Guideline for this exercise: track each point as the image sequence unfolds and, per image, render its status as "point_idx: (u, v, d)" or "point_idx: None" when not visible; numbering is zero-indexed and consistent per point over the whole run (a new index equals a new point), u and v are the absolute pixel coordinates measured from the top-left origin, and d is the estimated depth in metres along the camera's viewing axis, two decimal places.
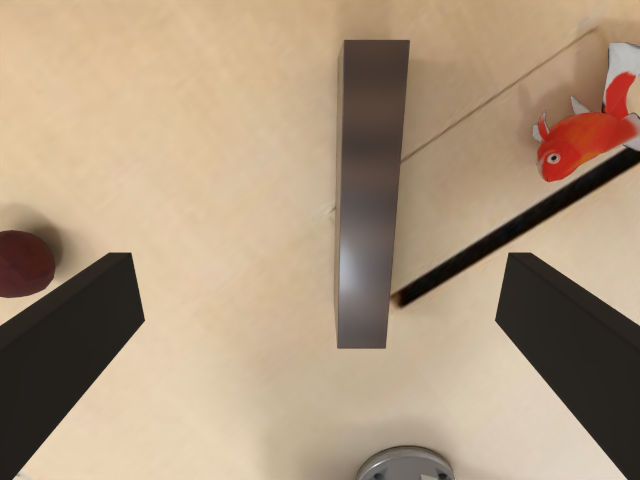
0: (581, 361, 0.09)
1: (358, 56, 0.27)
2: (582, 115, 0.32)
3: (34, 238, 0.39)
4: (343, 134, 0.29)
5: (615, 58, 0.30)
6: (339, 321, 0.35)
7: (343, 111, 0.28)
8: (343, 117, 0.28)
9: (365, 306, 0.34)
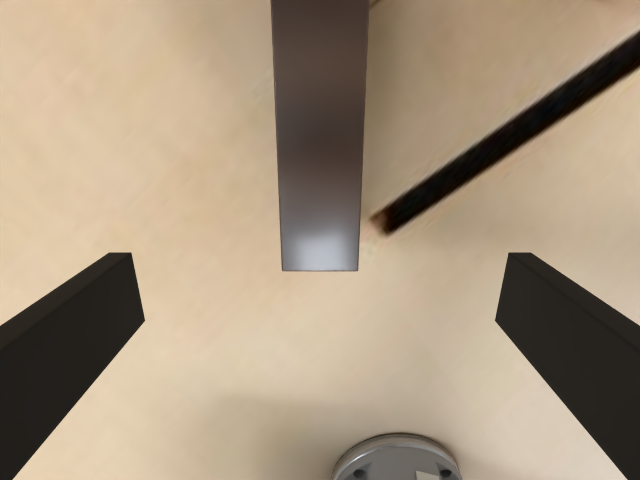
0: (581, 361, 0.09)
1: None
2: None
3: None
4: None
5: None
6: (282, 223, 0.22)
7: None
8: None
9: (323, 197, 0.21)
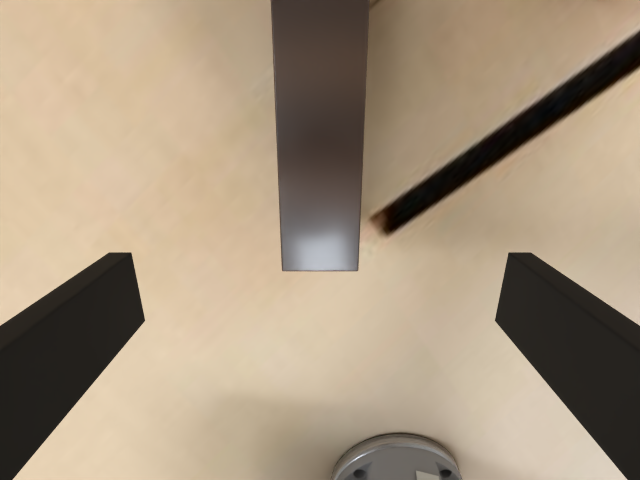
0: (581, 361, 0.09)
1: None
2: None
3: None
4: None
5: None
6: (282, 223, 0.22)
7: None
8: None
9: (323, 197, 0.21)
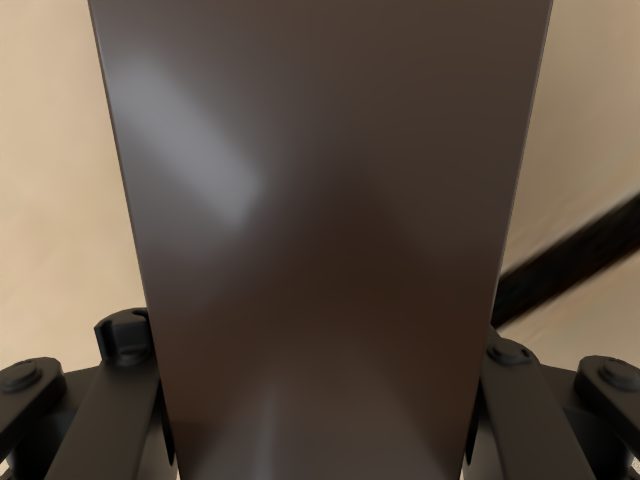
0: None
1: None
2: None
3: None
4: None
5: None
6: None
7: None
8: None
9: (332, 431, 0.06)
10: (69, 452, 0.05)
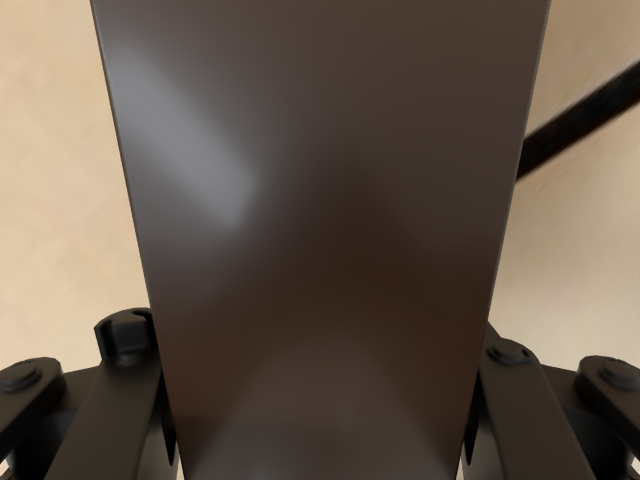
0: None
1: None
2: None
3: None
4: None
5: None
6: None
7: None
8: None
9: (332, 426, 0.06)
10: (69, 452, 0.05)
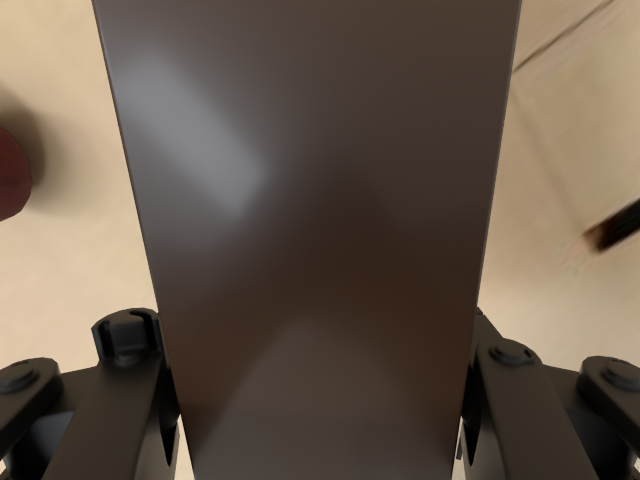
0: None
1: None
2: None
3: None
4: None
5: None
6: (201, 479, 0.07)
7: None
8: None
9: (332, 409, 0.06)
10: (66, 453, 0.05)
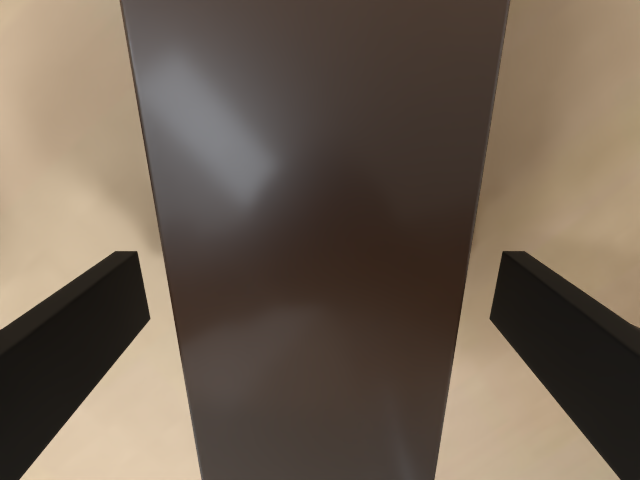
0: (572, 357, 0.09)
1: None
2: None
3: None
4: None
5: None
6: (202, 445, 0.07)
7: None
8: None
9: (328, 379, 0.07)
10: None
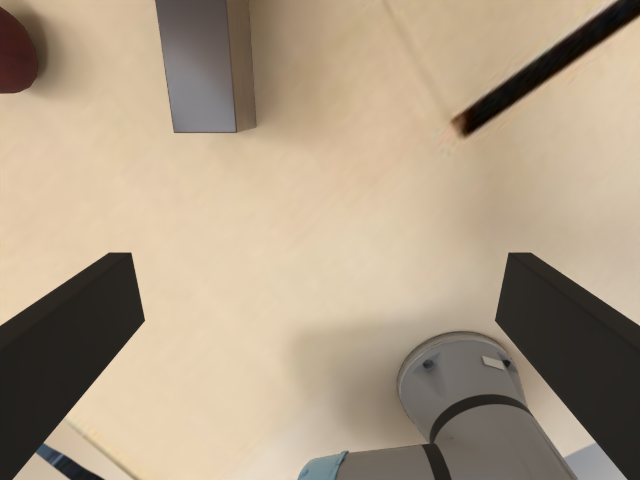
0: (581, 360, 0.09)
1: None
2: None
3: (10, 14, 0.30)
4: None
5: None
6: (169, 87, 0.26)
7: None
8: None
9: (200, 63, 0.26)
10: None
